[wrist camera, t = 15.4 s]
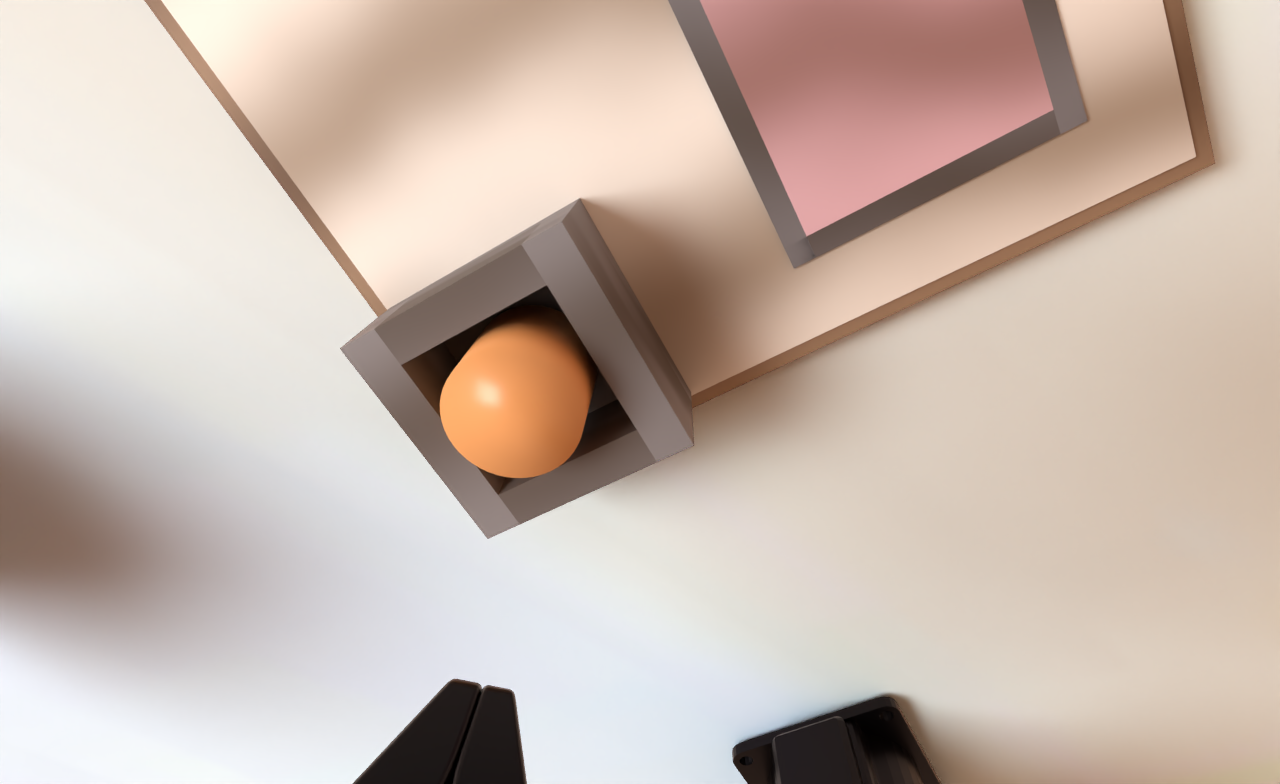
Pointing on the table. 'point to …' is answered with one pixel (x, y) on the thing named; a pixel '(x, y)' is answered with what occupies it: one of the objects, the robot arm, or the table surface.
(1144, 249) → the table surface
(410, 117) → the colouring board
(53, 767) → the table surface
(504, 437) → the button
